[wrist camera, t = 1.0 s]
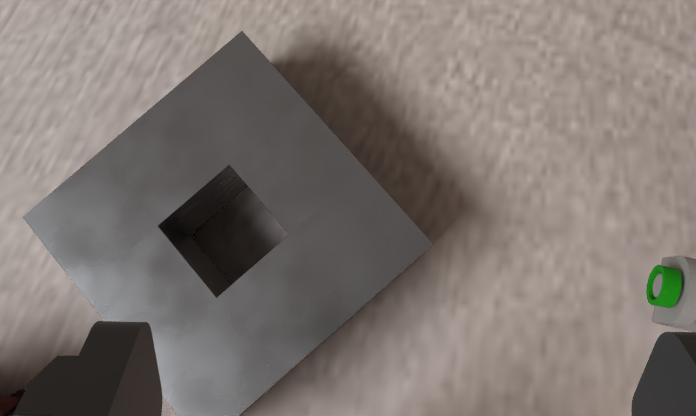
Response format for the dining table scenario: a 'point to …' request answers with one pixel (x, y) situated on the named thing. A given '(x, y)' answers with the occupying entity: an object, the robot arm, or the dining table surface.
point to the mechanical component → (674, 292)
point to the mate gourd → (10, 403)
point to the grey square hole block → (201, 204)
